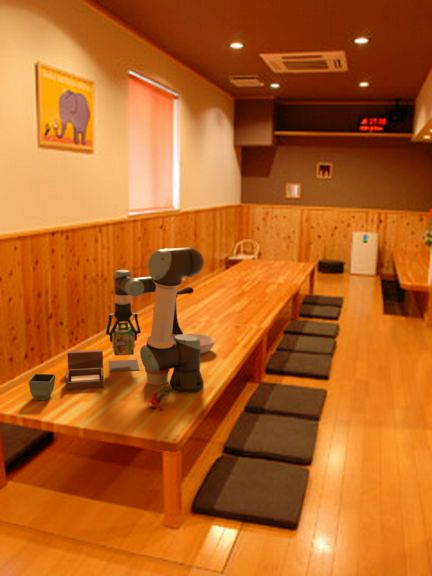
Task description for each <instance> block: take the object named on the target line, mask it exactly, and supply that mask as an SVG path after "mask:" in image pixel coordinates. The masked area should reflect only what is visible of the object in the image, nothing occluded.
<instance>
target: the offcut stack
mask: <svg viewBox="0 0 432 576" xmlns="http://www.w3.org/2000/svg"><path fill="white" fill-rule="evenodd" d="M94 380H100V378H99V375H85V376H71V379H70V382H77V381H94Z"/></svg>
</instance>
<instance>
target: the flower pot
mask: <svg viewBox="0 0 432 576" xmlns="http://www.w3.org/2000/svg"><path fill="white" fill-rule="evenodd" d="M55 383H56V374H54V373H34V374H33V376H32V377H31V378H30V379H29V380H28V385H29V391H30V395H31V397H33V399H34V400H35V401H39V400H40V401H47V400H49V398H50V397H51V395H52V393H53V391H54V389H55Z"/></svg>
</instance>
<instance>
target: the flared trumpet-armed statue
mask: <svg viewBox="0 0 432 576" xmlns="http://www.w3.org/2000/svg"><path fill="white" fill-rule="evenodd" d="M192 293H194V288H193V287H191V286H186V287H185V288H183V289H180V290H177V293H176V299H177V298H178V295H188V294H192ZM172 335H175V336H176V335H184V332H183V330H182V328H181V327H180V324H179V321H178V313H177V301H176V302H175V311H174V320H173V329H172Z"/></svg>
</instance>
